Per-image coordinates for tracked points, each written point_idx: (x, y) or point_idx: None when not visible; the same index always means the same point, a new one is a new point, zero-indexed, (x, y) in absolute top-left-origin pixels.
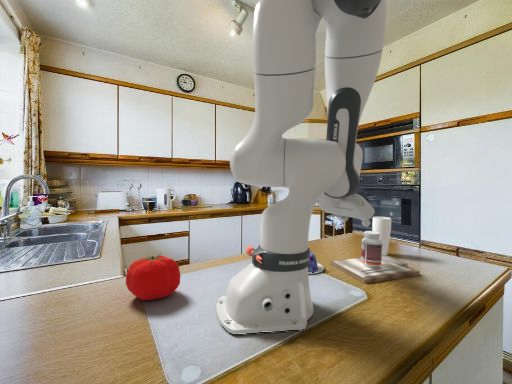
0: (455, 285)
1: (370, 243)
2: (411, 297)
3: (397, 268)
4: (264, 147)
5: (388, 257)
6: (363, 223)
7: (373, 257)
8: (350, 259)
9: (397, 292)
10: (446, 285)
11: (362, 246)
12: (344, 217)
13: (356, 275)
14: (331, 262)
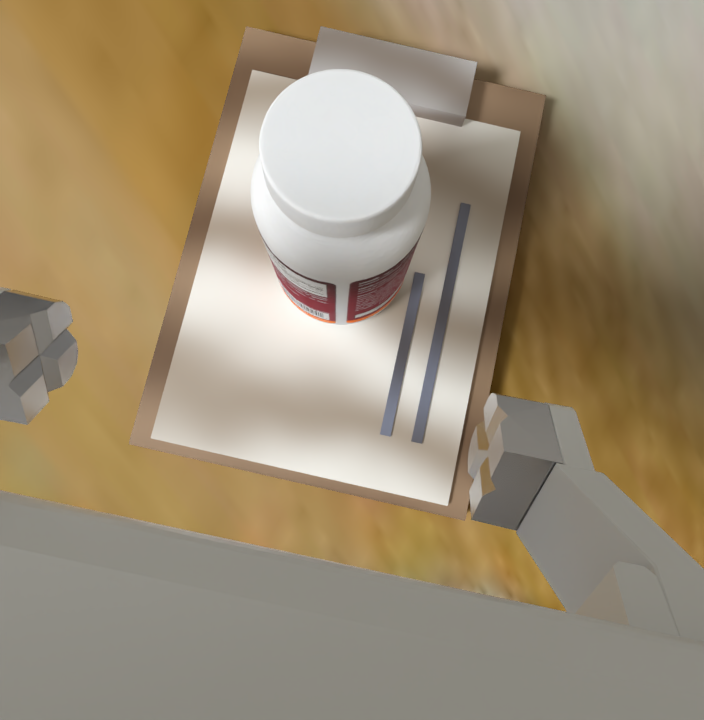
0: (696, 97)
1: (380, 270)
2: (673, 445)
3: (467, 178)
4: None
5: (346, 61)
6: (527, 529)
7: (392, 289)
8: (199, 297)
9: (609, 453)
10: (677, 136)
11: (297, 280)
12: (20, 382)
13: (395, 504)
14: (143, 446)
